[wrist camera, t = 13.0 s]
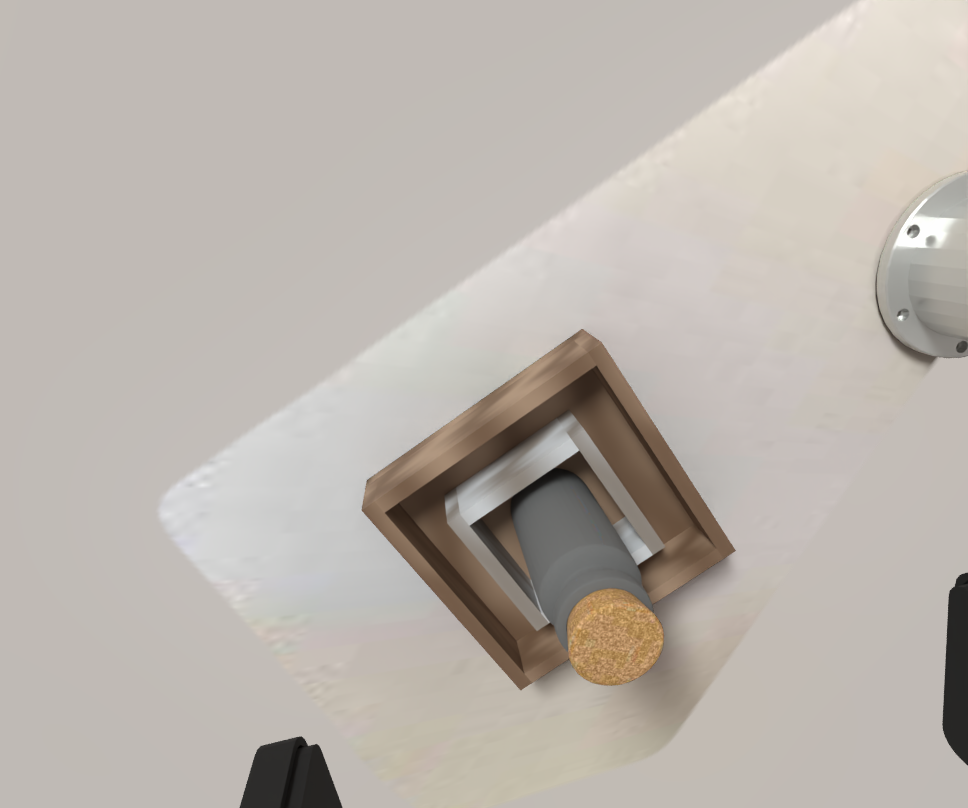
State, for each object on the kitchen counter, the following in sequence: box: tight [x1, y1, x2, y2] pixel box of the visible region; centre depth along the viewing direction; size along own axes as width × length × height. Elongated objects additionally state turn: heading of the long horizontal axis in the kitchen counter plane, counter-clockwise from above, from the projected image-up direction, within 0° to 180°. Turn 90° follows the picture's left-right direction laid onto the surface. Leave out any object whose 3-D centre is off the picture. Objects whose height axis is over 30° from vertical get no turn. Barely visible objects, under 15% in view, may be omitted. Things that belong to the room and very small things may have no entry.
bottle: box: [511, 468, 664, 686], centre depth 37 cm, size 6×6×15 cm
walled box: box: [362, 329, 735, 690], centre depth 42 cm, size 18×18×5 cm
